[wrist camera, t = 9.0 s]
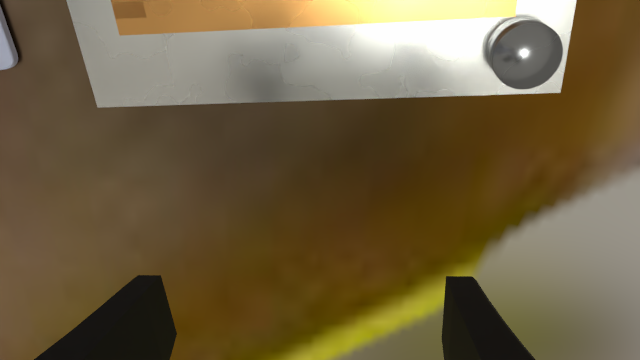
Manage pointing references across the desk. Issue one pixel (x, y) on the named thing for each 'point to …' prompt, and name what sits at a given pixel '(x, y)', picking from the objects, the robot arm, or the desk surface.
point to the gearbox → (318, 49)
